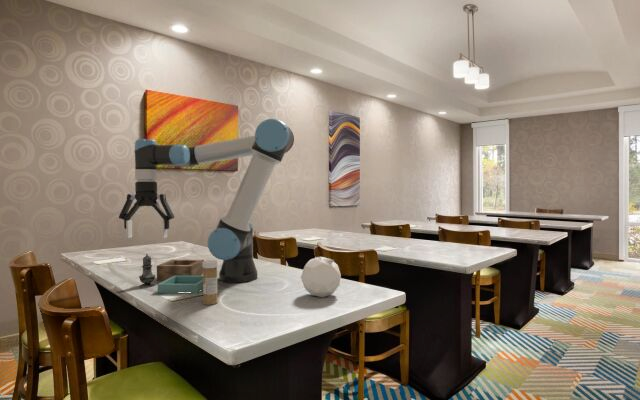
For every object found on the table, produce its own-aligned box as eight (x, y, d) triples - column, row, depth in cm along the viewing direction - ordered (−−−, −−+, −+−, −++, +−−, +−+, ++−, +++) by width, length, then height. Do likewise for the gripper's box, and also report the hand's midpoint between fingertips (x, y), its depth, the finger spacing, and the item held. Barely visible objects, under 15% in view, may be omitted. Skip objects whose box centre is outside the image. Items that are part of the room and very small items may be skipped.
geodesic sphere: (356, 276, 140) (333, 244, 142) (343, 285, 127) (319, 249, 130) (325, 298, 144) (304, 266, 147) (310, 309, 131) (287, 274, 134)
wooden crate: (204, 273, 173) (204, 259, 173) (191, 281, 159) (191, 266, 159) (172, 273, 174) (172, 259, 173) (156, 281, 160) (156, 265, 160)
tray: (210, 284, 154) (210, 275, 154) (197, 293, 140) (196, 284, 140) (174, 283, 155) (174, 275, 155) (157, 293, 141) (157, 284, 141)
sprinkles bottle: (204, 301, 131) (203, 259, 130) (218, 301, 131) (218, 259, 131) (201, 305, 126) (201, 262, 126) (216, 305, 126) (216, 262, 126)
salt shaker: (149, 287, 149) (149, 255, 148) (135, 287, 150) (134, 254, 150) (159, 284, 155) (158, 252, 154) (145, 283, 156) (144, 252, 155)
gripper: (182, 181, 154) (183, 236, 155) (119, 181, 156) (120, 236, 157) (174, 180, 147) (175, 239, 148) (108, 181, 149) (109, 238, 149)
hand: (146, 237), depth 152 cm, fingers open, 13 cm apart
